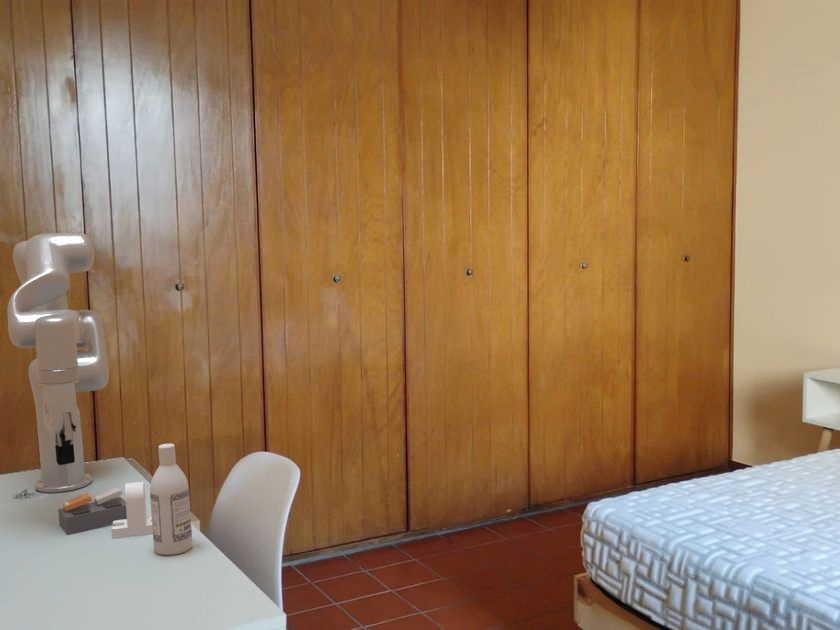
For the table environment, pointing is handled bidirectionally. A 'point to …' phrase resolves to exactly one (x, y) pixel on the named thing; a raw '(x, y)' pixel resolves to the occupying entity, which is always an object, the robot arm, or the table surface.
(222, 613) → the table surface
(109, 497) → the rocker grey
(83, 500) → the rocker orange
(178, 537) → the bath foam
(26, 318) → the robot arm
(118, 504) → the rocker switch box
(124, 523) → the cable organizer
